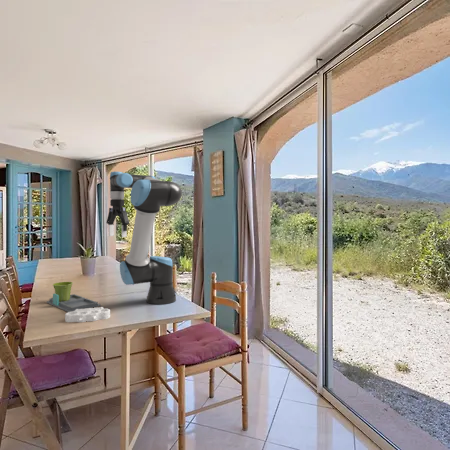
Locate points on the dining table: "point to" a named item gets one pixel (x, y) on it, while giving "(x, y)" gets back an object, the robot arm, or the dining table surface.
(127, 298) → the dining table surface
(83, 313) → the knuckle duster
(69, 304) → the tray
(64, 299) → the plant pot
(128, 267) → the robot arm
